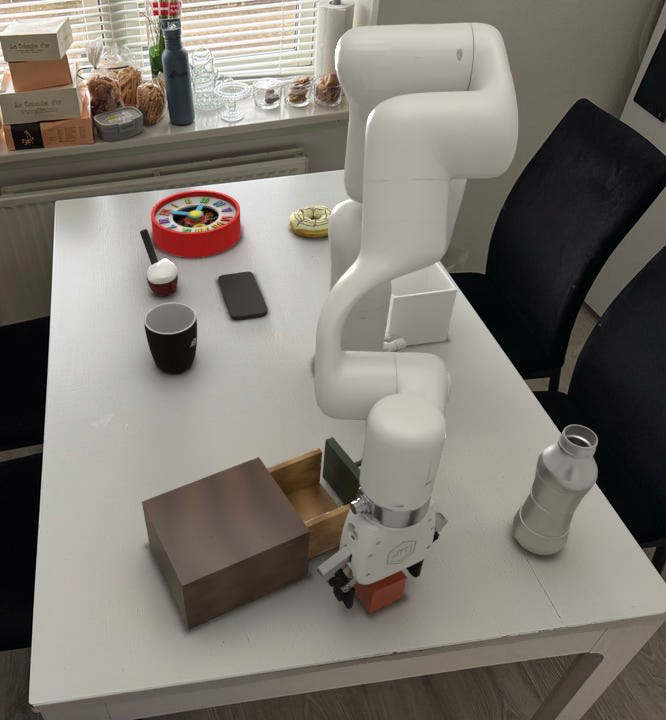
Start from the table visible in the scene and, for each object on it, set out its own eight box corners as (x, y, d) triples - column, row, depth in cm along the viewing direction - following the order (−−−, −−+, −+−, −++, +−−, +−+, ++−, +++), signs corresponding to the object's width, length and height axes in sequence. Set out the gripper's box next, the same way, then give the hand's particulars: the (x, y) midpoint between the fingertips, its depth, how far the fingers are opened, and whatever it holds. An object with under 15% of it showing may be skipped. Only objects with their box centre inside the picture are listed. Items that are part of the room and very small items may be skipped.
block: (379, 567, 89) (383, 546, 86) (402, 598, 86) (407, 577, 83) (347, 582, 88) (350, 561, 85) (369, 613, 84) (373, 592, 81)
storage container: (446, 340, 123) (457, 289, 115) (386, 348, 122) (393, 297, 115) (397, 265, 142) (404, 218, 134) (344, 272, 141) (349, 225, 134)
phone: (252, 270, 142) (269, 311, 131) (252, 273, 143) (269, 315, 131) (216, 275, 142) (231, 317, 130) (217, 278, 142) (231, 321, 131)
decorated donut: (289, 217, 160) (289, 202, 157) (336, 216, 158) (337, 201, 156) (289, 240, 152) (290, 225, 149) (339, 240, 151) (340, 224, 148)
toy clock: (226, 238, 143) (137, 228, 149) (227, 262, 147) (140, 252, 152) (250, 194, 157) (167, 187, 163) (250, 216, 161) (170, 209, 167)
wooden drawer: (356, 462, 101) (361, 425, 96) (407, 523, 93) (416, 486, 88) (233, 512, 96) (231, 475, 91) (274, 582, 87) (275, 545, 82)
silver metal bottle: (548, 517, 93) (594, 412, 80) (571, 560, 88) (624, 456, 75) (500, 520, 93) (539, 416, 80) (520, 564, 88) (565, 460, 75)
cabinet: (259, 502, 98) (258, 456, 92) (307, 576, 89) (310, 531, 82) (149, 546, 94) (141, 501, 88) (188, 629, 84) (181, 586, 78)
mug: (199, 379, 119) (195, 333, 113) (148, 380, 120) (141, 334, 113) (201, 336, 128) (197, 291, 122) (153, 337, 129) (147, 293, 122)
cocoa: (183, 300, 137) (178, 248, 130) (152, 305, 137) (145, 253, 129) (173, 274, 145) (168, 224, 137) (144, 280, 144) (137, 229, 136)
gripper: (344, 551, 69) (333, 637, 80) (482, 490, 74) (453, 580, 85) (305, 498, 75) (300, 586, 85) (436, 445, 79) (415, 534, 90)
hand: (376, 583), depth 85 cm, fingers open, 9 cm apart
